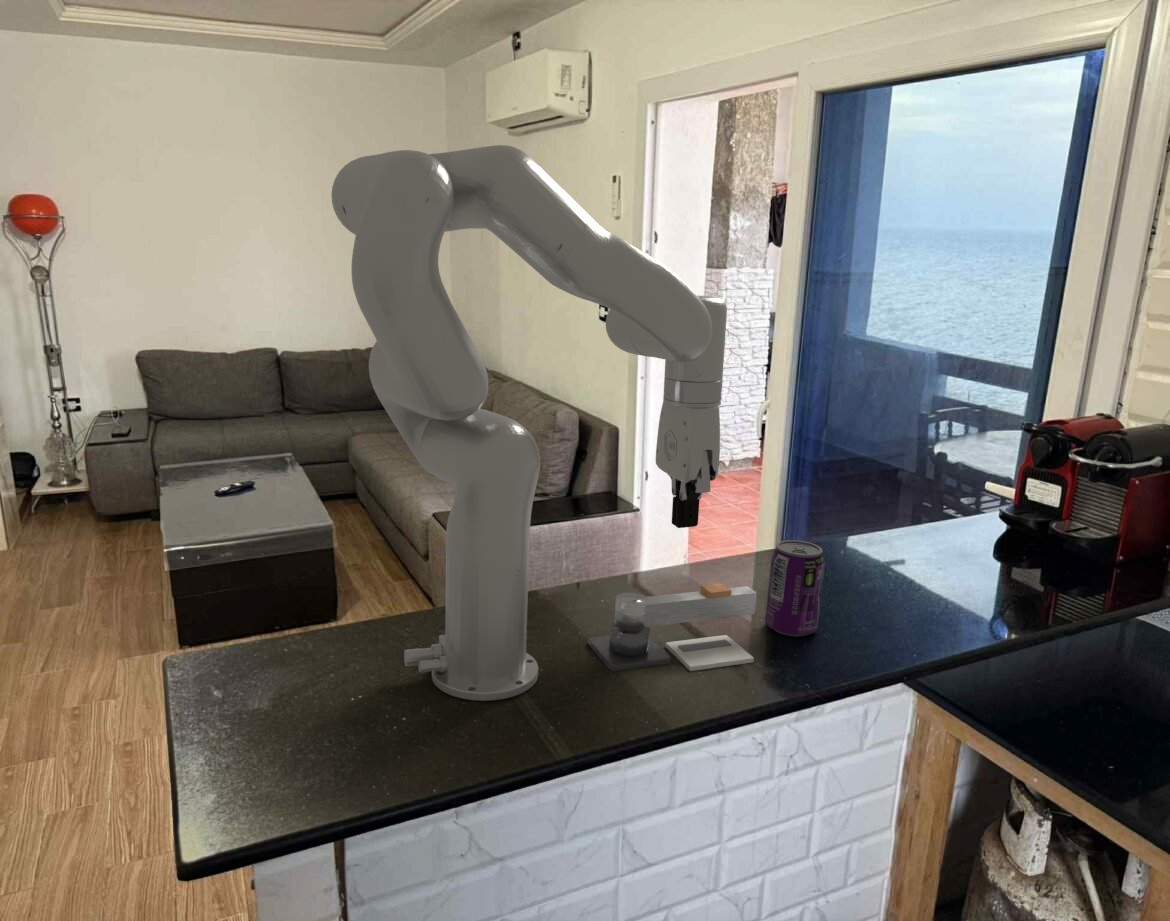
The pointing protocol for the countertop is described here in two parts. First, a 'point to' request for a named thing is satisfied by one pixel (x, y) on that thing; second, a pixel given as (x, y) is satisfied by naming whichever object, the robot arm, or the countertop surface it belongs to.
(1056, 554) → the countertop surface
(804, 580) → the beverage can
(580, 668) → the countertop surface
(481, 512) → the robot arm
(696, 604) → the grey long bar
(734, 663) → the label plate
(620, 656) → the pivot pedestal
